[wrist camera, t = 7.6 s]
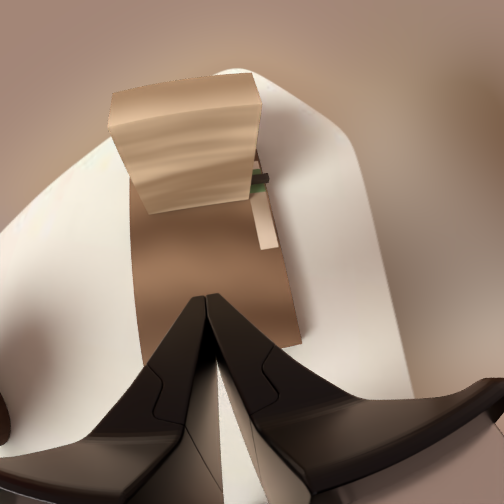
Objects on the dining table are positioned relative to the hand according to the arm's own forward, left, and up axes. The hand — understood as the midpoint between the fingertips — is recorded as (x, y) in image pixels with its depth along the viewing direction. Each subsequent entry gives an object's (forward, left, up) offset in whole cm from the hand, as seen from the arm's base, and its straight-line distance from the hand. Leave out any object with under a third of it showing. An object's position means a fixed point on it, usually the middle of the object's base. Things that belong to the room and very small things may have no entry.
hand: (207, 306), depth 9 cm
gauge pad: (+5, -8, -9) cm, 13 cm away
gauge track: (+4, -5, -11) cm, 12 cm away
